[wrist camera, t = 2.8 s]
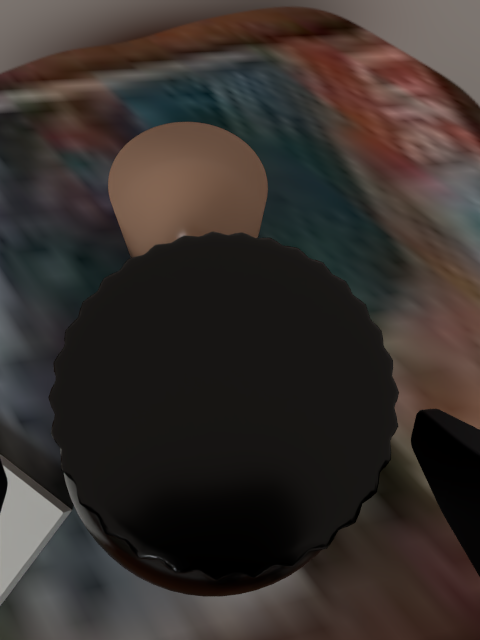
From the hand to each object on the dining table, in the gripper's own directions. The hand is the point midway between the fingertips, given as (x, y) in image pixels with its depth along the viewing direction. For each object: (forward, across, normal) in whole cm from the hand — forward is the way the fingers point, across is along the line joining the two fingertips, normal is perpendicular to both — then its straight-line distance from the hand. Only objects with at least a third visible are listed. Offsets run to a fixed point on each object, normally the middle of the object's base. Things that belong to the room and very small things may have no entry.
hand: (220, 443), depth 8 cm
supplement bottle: (+6, 0, +6) cm, 8 cm away
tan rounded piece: (+13, 0, -1) cm, 13 cm away
